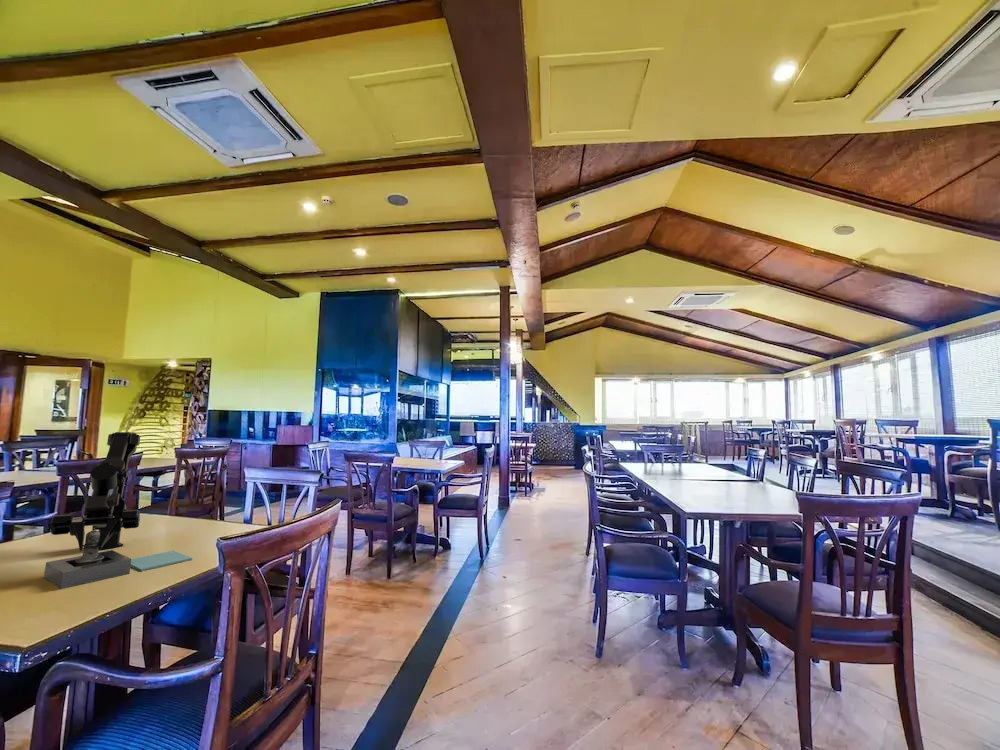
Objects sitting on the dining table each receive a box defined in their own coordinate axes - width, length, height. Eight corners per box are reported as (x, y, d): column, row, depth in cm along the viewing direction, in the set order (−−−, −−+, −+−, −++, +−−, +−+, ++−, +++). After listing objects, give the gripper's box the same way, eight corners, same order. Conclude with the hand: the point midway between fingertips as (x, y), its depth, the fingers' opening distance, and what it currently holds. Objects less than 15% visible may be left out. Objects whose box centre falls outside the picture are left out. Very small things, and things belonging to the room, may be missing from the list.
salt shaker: (69, 573, 118) (75, 528, 119) (97, 567, 123) (102, 524, 124) (78, 577, 115) (84, 531, 116) (106, 571, 120) (112, 526, 121)
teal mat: (122, 562, 129) (123, 560, 130) (172, 552, 141) (173, 550, 141) (141, 571, 123) (141, 569, 123) (192, 559, 134) (192, 557, 134)
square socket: (43, 577, 116) (46, 562, 117) (110, 563, 128) (112, 550, 129) (60, 589, 109) (63, 572, 109) (129, 573, 121) (131, 558, 121)
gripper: (56, 486, 119) (38, 536, 109) (143, 482, 130) (134, 528, 120) (60, 509, 125) (43, 560, 115) (142, 504, 135) (134, 550, 125)
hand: (90, 548), depth 118 cm, fingers closed on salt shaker, 4 cm apart
